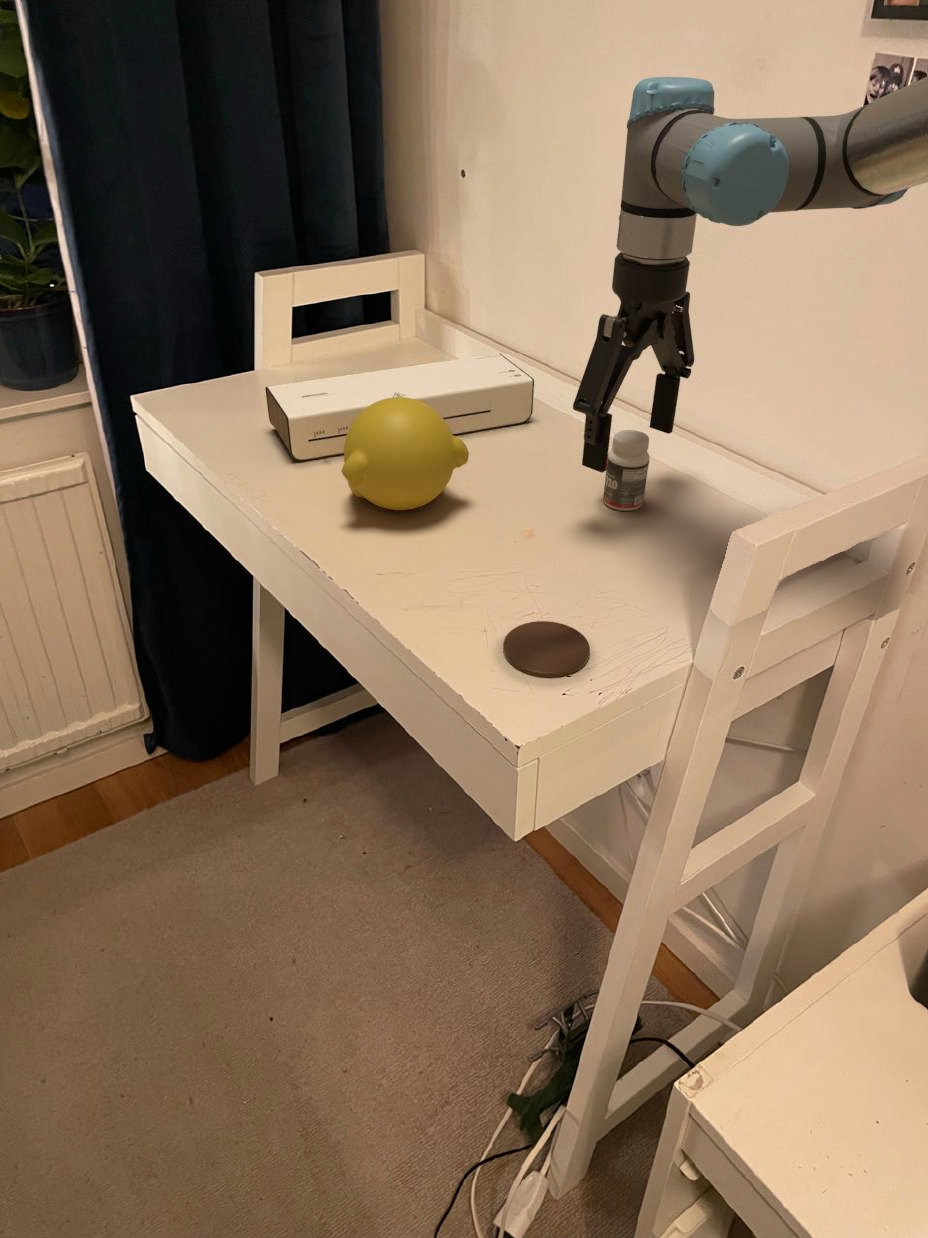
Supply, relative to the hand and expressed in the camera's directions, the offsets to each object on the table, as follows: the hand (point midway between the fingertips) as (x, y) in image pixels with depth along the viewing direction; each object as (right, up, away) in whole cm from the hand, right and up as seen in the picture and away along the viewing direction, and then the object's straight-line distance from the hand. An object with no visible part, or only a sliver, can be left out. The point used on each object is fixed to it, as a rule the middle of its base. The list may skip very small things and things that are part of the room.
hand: (628, 448), depth 107 cm
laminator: (-27, +7, +22) cm, 36 cm away
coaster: (-11, -22, -20) cm, 32 cm away
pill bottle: (0, -6, +4) cm, 7 cm away
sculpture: (-26, -6, +3) cm, 27 cm away
